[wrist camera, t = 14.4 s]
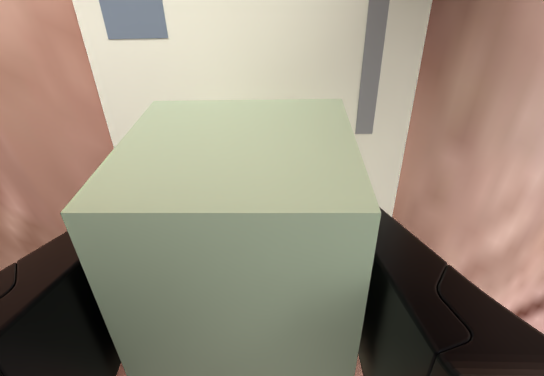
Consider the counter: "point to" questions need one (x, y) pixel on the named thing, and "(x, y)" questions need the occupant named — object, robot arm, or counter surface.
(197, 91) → the letter
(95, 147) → the counter surface
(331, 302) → the block
